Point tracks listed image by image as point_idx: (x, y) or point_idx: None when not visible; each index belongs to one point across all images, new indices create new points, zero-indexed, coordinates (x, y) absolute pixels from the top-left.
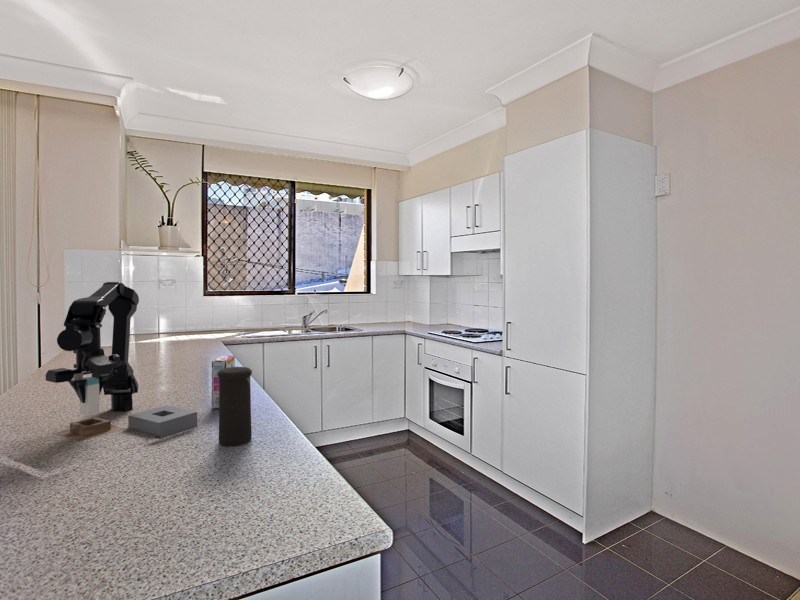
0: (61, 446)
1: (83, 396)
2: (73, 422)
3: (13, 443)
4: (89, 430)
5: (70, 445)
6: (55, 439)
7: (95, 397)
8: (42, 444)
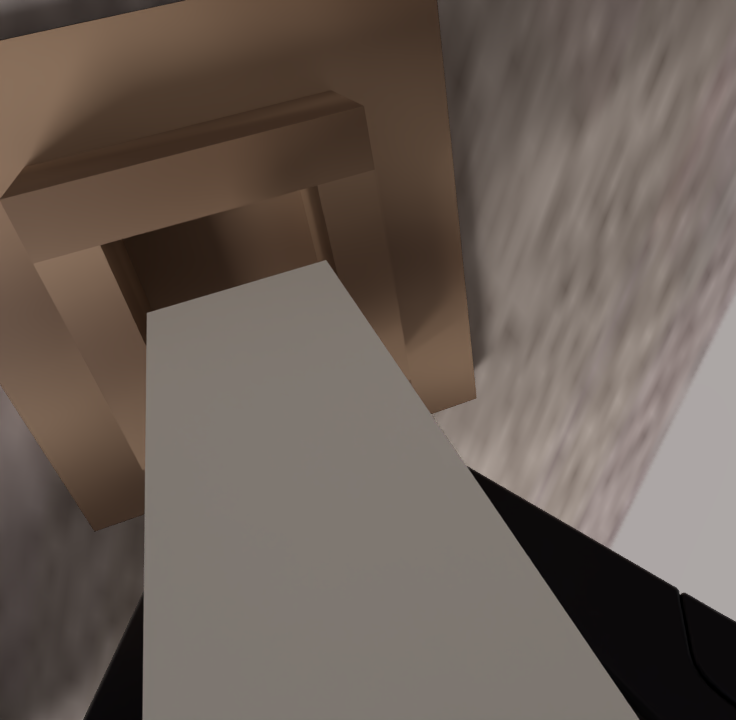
0: (527, 70)
1: (524, 530)
2: None
3: (652, 406)
4: (300, 110)
5: (469, 30)
6: (479, 326)
7: (251, 493)
8: (580, 259)
